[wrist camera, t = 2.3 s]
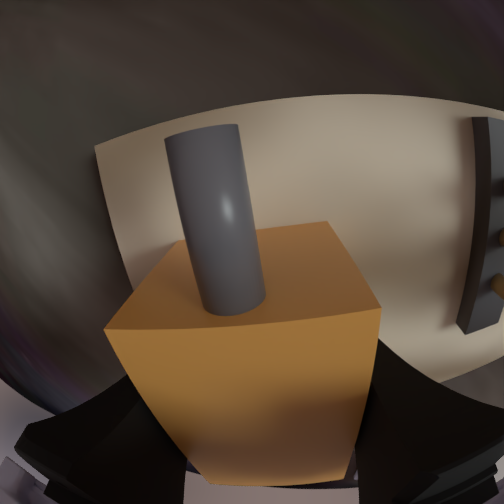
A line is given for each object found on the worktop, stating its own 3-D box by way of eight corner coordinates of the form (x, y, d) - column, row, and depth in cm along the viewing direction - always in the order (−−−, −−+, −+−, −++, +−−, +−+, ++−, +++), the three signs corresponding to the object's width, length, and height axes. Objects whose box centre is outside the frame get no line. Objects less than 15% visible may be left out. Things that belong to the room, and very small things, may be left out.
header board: (512, 337, 12) (543, 376, 7) (195, 399, 14) (177, 463, 10) (544, 127, 6) (599, 139, 2) (111, 144, 9) (26, 156, 5)
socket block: (329, 386, 12) (343, 478, 7) (226, 394, 12) (210, 483, 7) (316, 127, 8) (376, 106, 3) (159, 154, 8) (51, 175, 4)
